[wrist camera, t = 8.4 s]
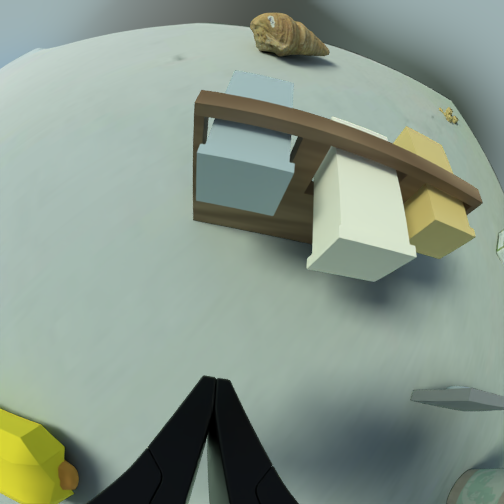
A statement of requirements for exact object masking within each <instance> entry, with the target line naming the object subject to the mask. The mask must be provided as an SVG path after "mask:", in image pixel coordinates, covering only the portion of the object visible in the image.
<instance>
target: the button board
mask: <svg viewBox="0 0 504 504" xmlns="http://www.w3.org/2000/svg"><path fill="white" fill-rule="evenodd" d="M209 117H211V118H217V119H223V120H228V121H234V122H239V123H244V124H249V125H253V126H258V127H262V128H267V129H271V130H275V131H279V132H283V133H287V134H291V135H295V136H298V138H297V140H296V142H295V145H294V147H293V149H292V152H291V154H290V161H289V162H290V163H294V164H295V166H294V174H293V176H292V178H291V181H290V183H289V185H288V187H287V189H286V191H285V193H284V195H283V197H282V199H281V201H280V203H279V205H278V207H277V209H276V211H275V214H274V216H270V215H266V214H261V213H256V212H251V211H247V210H242V209H237V208H232V207H227V206H222V205H217V204H212V203H206V202H201V201H196V167H197V151H198V148H199V146H200V144H206V141H207V129H208V118H209ZM331 146H332V147H335V148H338V149H341V150H344V151H347V152H350V153H353V154H356V155H359V156H362V157H364V158H367V159H370V160H373V161H375V162H378V163H380V164H383V165H385V166H388V167H390V168H393V169H395V170H396V173H397V177H398V182H399V186H400V191H401V195H402V200H403V204H404V203H405V202H406V201H407V200H408V199H410V198H411V197H412V196H413V195H414V194H415V193H416V192H417V191H418V190H419V189H420V188H421V187H422V186H423V185H424V184H425V183H427V184H429V185H431V186H433V187H436V188H438V189H440V190H442V191H444V192H446V193H448V194H450V195H452V196H453V197H455V198H457V199H459V200H461V201H463V205H464V208H465V212H466V215H468V214H469V213H470V212H472V211H473V210H474V209H476V208H477V207H478V206H480V205H481V204H482V203H483V202H482V199H481V196H480V194H479V191H478V189H477V188H475V187H474V186H472V185H470V184H469V183H467V182H466V181H464V180H462V179H461V178H459V177H457V176H455V175H454V174H452V173H450V172H448V171H447V170H445V169H443V168H441V167H439V166H438V165H436V164H434V163H432V162H430V161H428V160H426V159H424V158H422V157H420V156H418V155H416V154H414V153H412V152H410V151H408V150H406V149H404V148H401V147H399V146H397V145H395V144H393V143H390V142H388V141H386V140H383V139H381V138H379V137H376V136H374V135H371V134H369V133H366V132H364V131H361V130H358V129H356V128H353V127H350V126H347V125H345V124H342V123H339V122H336V121H333V120H330V119H327V118H324V117H321V116H318V115H314V114H311V113H308V112H304V111H301V110H297V109H293V108H290V107H286V106H282V105H278V104H274V103H270V102H265V101H261V100H256V99H252V98H247V97H242V96H236V95H231V94H225V93H219V92H212V91H205V90H201V92H200V94H199V95H198V97H197V99H196V101H195V108H194V137H193V220H196V221H201V222H206V223H211V224H216V225H221V226H226V227H231V228H236V229H241V230H246V231H251V232H256V233H261V234H266V235H271V236H275V237H280V238H285V239H290V240H294V241H299V242H304V243H308V244H312V243H313V207H314V182H313V181H311V180H312V179H313V177H314V175H315V173H316V172H317V170H318V168H319V166H320V165H321V163H322V161H323V160H324V158H325V156H326V154H327V153H328V151H329V149H330V147H331Z"/></svg>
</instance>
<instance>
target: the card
mask: <svg viewBox="0 0 504 504" xmlns="http://www.w3.org/2000/svg"><path fill="white" fill-rule="evenodd" d="M411 401H416V402H420V403H424V404H429V405H434V406H439V407H444V408H449V409H454V410H460V411H491V410H504V396H500V395H496V394H493V393H489V392H485V391H482V390H478V389H475V388H470V387H465V386H449V387H447V389H441V390H413V393H412V396H411Z"/></svg>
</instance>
